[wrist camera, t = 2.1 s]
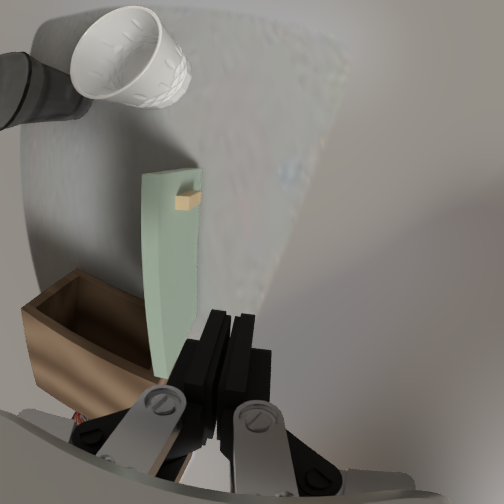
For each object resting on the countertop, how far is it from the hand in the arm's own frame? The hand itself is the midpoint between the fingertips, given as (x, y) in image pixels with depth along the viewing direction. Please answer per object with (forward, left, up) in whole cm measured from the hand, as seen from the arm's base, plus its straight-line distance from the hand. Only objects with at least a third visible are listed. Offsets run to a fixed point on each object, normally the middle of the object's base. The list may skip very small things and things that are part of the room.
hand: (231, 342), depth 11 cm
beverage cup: (+7, +25, -18) cm, 31 cm away
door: (-4, +5, -17) cm, 18 cm away
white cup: (+11, +15, -18) cm, 26 cm away
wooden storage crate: (-19, +12, -18) cm, 28 cm away
